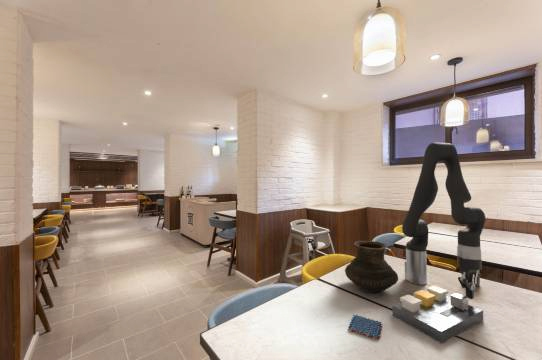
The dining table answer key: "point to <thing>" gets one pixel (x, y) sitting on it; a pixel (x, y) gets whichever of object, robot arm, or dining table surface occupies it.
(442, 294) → the button right
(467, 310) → the panel
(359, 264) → the ceramic pot
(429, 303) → the button mid
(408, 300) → the button left
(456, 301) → the brushed metal cube
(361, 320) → the woven mat
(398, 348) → the dining table surface
